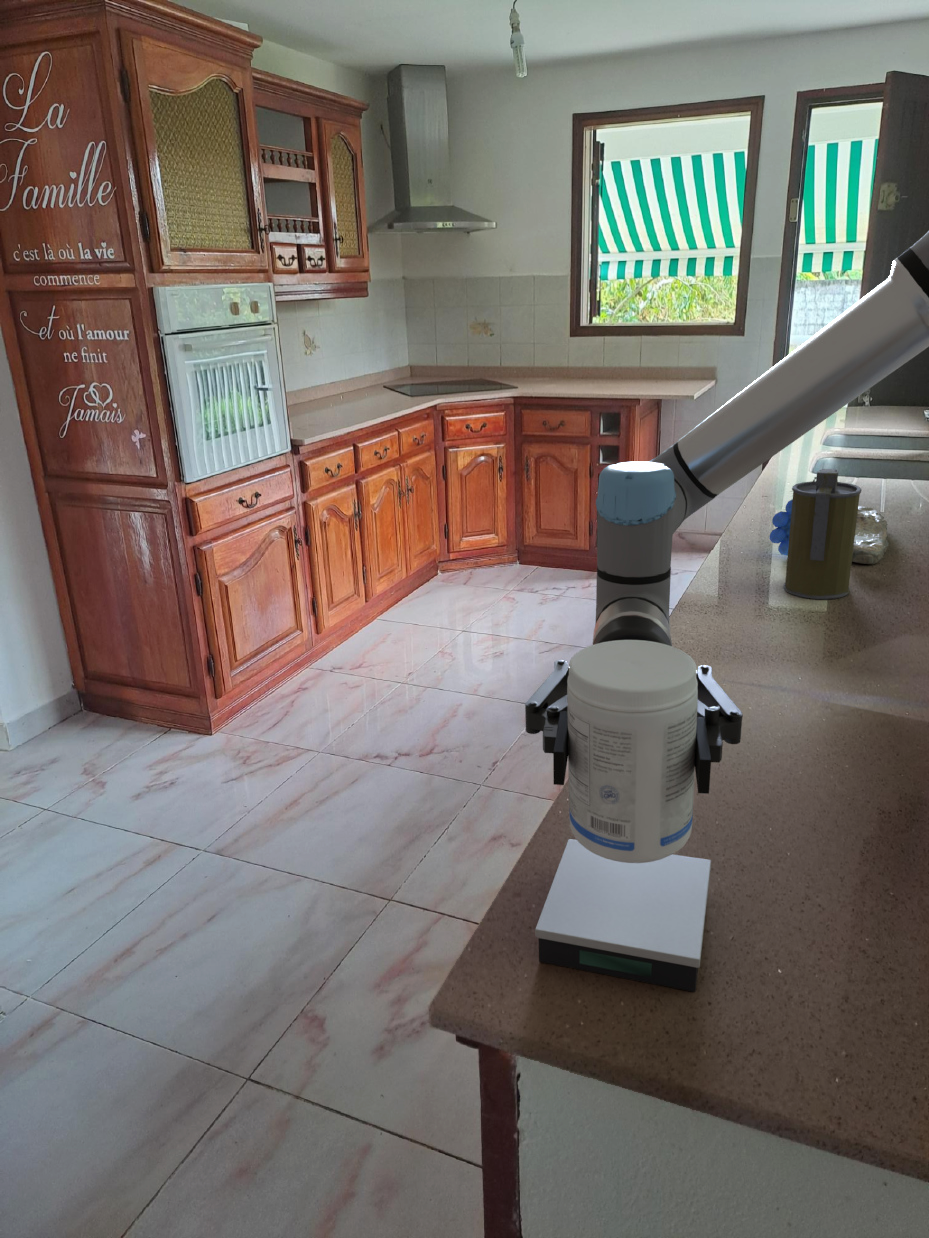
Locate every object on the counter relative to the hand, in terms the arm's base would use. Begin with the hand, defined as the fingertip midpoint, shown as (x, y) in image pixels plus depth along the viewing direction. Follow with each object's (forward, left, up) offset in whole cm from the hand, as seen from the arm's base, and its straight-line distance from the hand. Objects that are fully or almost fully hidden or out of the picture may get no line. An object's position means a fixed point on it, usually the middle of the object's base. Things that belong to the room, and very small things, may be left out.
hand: (630, 772), depth 63 cm
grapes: (-15, -115, -17) cm, 118 cm away
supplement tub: (+1, -4, -8) cm, 9 cm away
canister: (-17, -95, -17) cm, 98 cm away
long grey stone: (-27, -128, -17) cm, 132 cm away
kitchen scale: (+1, -4, -17) cm, 18 cm away
